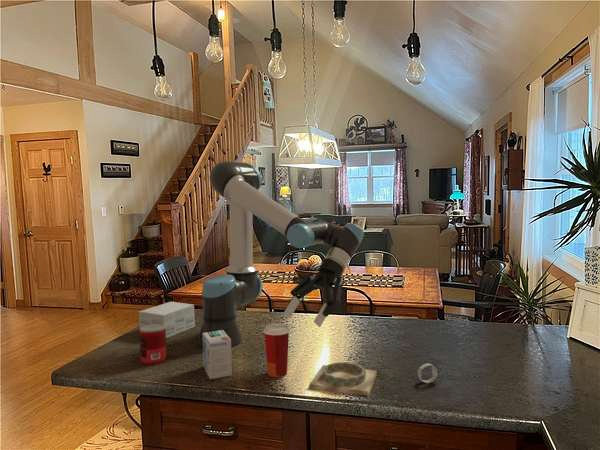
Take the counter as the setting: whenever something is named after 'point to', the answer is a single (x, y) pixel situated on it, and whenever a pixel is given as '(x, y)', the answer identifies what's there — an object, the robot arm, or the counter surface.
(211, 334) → the light bulb box
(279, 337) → the paper cup
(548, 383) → the counter surface
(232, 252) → the robot arm
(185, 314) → the supplement box
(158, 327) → the canned food
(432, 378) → the grey ring
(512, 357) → the counter surface
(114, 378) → the counter surface
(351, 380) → the cup holder
